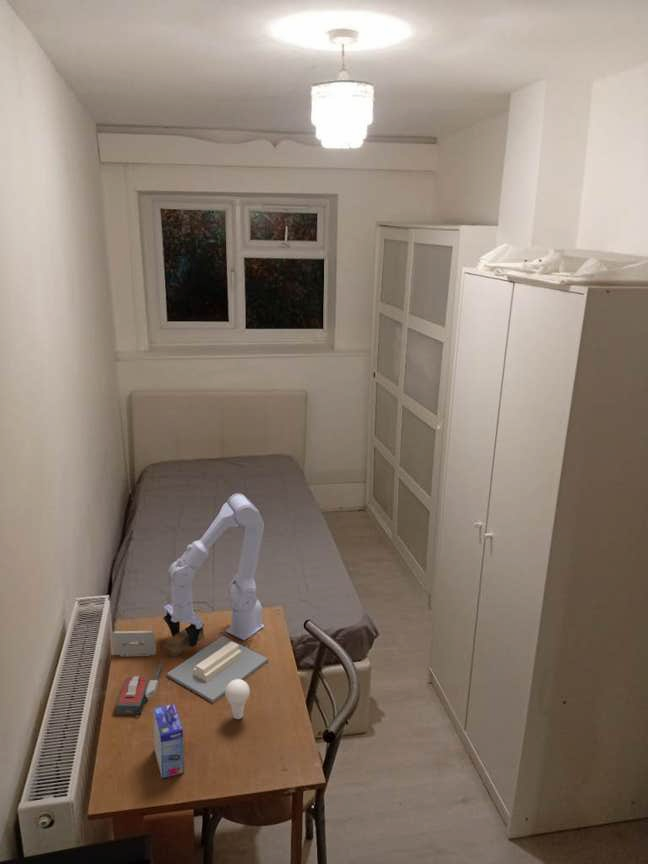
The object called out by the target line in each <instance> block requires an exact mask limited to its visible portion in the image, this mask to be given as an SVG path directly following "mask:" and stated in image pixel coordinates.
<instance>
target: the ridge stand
mask: <svg viewBox="0 0 648 864" xmlns="http://www.w3.org/2000/svg"><path fill="white" fill-rule="evenodd" d="M268 662H269V658H268V657H266V656H264V655H262V654H260V653H258V652H256V651H254V650H253V649H250V648H249V647H247V646H244V645H242V644H240V643H238V642H236V641H234V640H232V639H230V638H228V637H226V636H224V635H222V636H221V637H219V638H218V639H216V640H215V641H213V642H212V643H210V644H208V645H207V646H205V647H204V648H203V649H201V650H200V651H198V652H197V653H195V654H194V655H192V656H191V657H189V658H188V659H186V660H185V661H183V662H181V663H180V664H178V665H177V666H176V667H173V669H171V670H170V671H168V672H167V673H166V677H168V678H169V677H170V678H169V679H171V680H172V679H173V680H172V681H174V680H175V682H176V683H177V684H180V685H181V686H183V687H184V686H185V688H186V689H188V690H189V691H191V690H192V691H191V692H193V693H195V694H197V695H198V696H200V697H202V698H204V699H206V701H208V702H210V703H211V704H214V703H216V702H217V701H218V700H219V699H221V698H223V697H224V696H226V695H225V690H226V687H227V685H228V684H229V683H230V682H231V681H233V680H235V679H241V680H243V681H245V680H246V679H247V678H248V677H249V676H251V675H253V673H255V672H256V671H258V669H260V668H261V667H262V666H264V665H265V664H267V663H268Z"/></svg>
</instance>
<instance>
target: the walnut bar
mask: <svg viewBox="0 0 648 864" xmlns="http://www.w3.org/2000/svg"><path fill="white" fill-rule="evenodd" d="M202 639H204V627H203V628H202V629H201V631H200V634H199V636H198V640H197V642H198V641H200V640H202ZM188 648H190V644H189V638H188V634H187V632H186V630H185V628H183V630H180V632H179V633H177V634H176V635H174V636H173V637H172V636H171V637H170V638H168V639H167V640H165V641H164V649H165V652H164V653H166V654H167V653H168V654H167V655H169V654H170V655H169V656H170V657H176V656H177V655H179V654H181V653H182V652H183V651H185V650H186V649H188Z"/></svg>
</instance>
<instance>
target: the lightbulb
mask: <svg viewBox="0 0 648 864" xmlns="http://www.w3.org/2000/svg"><path fill="white" fill-rule="evenodd" d="M250 692H251V691H250V686H249V684H248V683H247V682H246V681H245V680H241V679H235V680H233V681H231V682H230V683H229V684H228V685H227V687H226V690H225V695H224V696H225V698H226V701H227V702H228V703H229V704H230V707H231V711H232V717H233V718H234V719H235V720H240V719H242V718H243V717H244V710H245V704H246V702H247V701H248V699H249V696H250V694H251V693H250Z"/></svg>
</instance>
